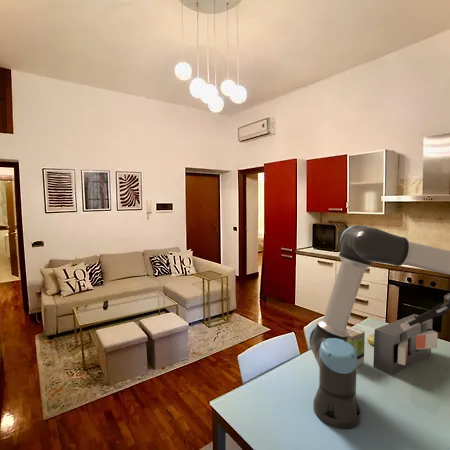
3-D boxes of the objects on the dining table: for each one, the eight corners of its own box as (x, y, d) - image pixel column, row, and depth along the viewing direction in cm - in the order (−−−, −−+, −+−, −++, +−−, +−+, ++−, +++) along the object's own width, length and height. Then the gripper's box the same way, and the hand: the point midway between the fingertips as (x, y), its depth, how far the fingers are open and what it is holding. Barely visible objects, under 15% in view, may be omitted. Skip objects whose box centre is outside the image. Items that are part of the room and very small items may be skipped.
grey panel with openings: (392, 376, 118) (394, 336, 117) (373, 367, 125) (374, 329, 124) (431, 354, 136) (433, 319, 135) (412, 347, 143) (414, 313, 142)
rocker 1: (405, 365, 117) (406, 348, 116) (397, 363, 118) (398, 346, 118) (407, 353, 126) (408, 337, 126) (400, 351, 128) (401, 336, 128)
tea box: (364, 363, 128) (365, 331, 128) (351, 370, 123) (352, 337, 122) (335, 349, 141) (336, 320, 140) (322, 355, 135) (323, 325, 134)
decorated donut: (394, 345, 145) (394, 338, 145) (383, 351, 139) (384, 344, 139) (374, 337, 154) (374, 330, 154) (363, 343, 148) (363, 335, 148)
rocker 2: (414, 349, 129) (415, 334, 129) (409, 346, 132) (410, 332, 132) (437, 347, 131) (438, 332, 131) (432, 344, 134) (432, 330, 134)
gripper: (469, 310, 101) (406, 338, 111) (468, 308, 111) (410, 334, 121) (453, 291, 104) (393, 320, 114) (453, 290, 114) (398, 317, 124)
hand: (401, 327), depth 117 cm, fingers closed
